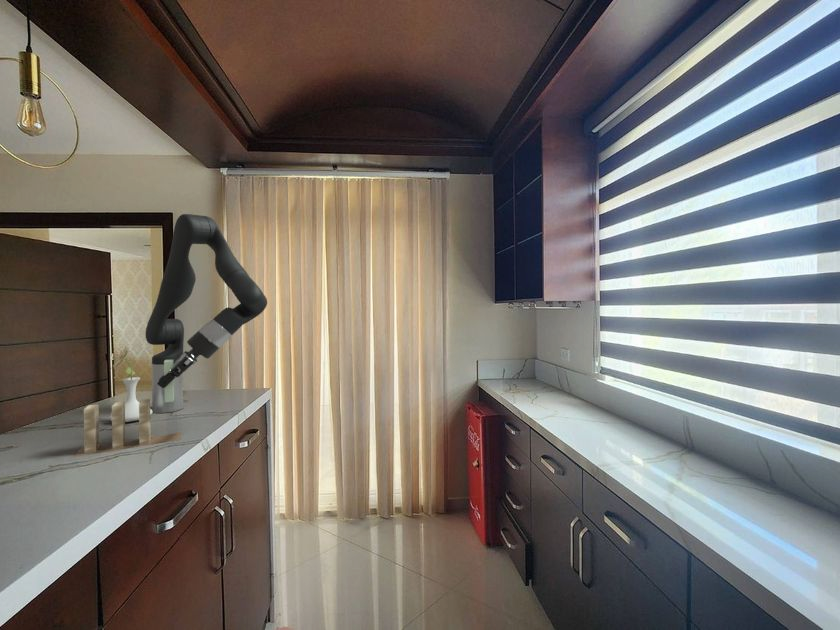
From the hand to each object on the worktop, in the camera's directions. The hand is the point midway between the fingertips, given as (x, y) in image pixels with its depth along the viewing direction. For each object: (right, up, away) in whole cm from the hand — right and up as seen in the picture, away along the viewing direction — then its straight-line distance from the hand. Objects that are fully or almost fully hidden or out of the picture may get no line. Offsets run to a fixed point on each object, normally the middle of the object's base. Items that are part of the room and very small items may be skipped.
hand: (161, 384), depth 103 cm
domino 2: (-3, -15, -2) cm, 16 cm away
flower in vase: (-24, -16, +21) cm, 36 cm away
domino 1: (-8, -15, -5) cm, 18 cm away
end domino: (-13, -15, -7) cm, 21 cm away
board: (-6, -16, -3) cm, 17 cm away
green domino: (+2, -5, +1) cm, 5 cm away
